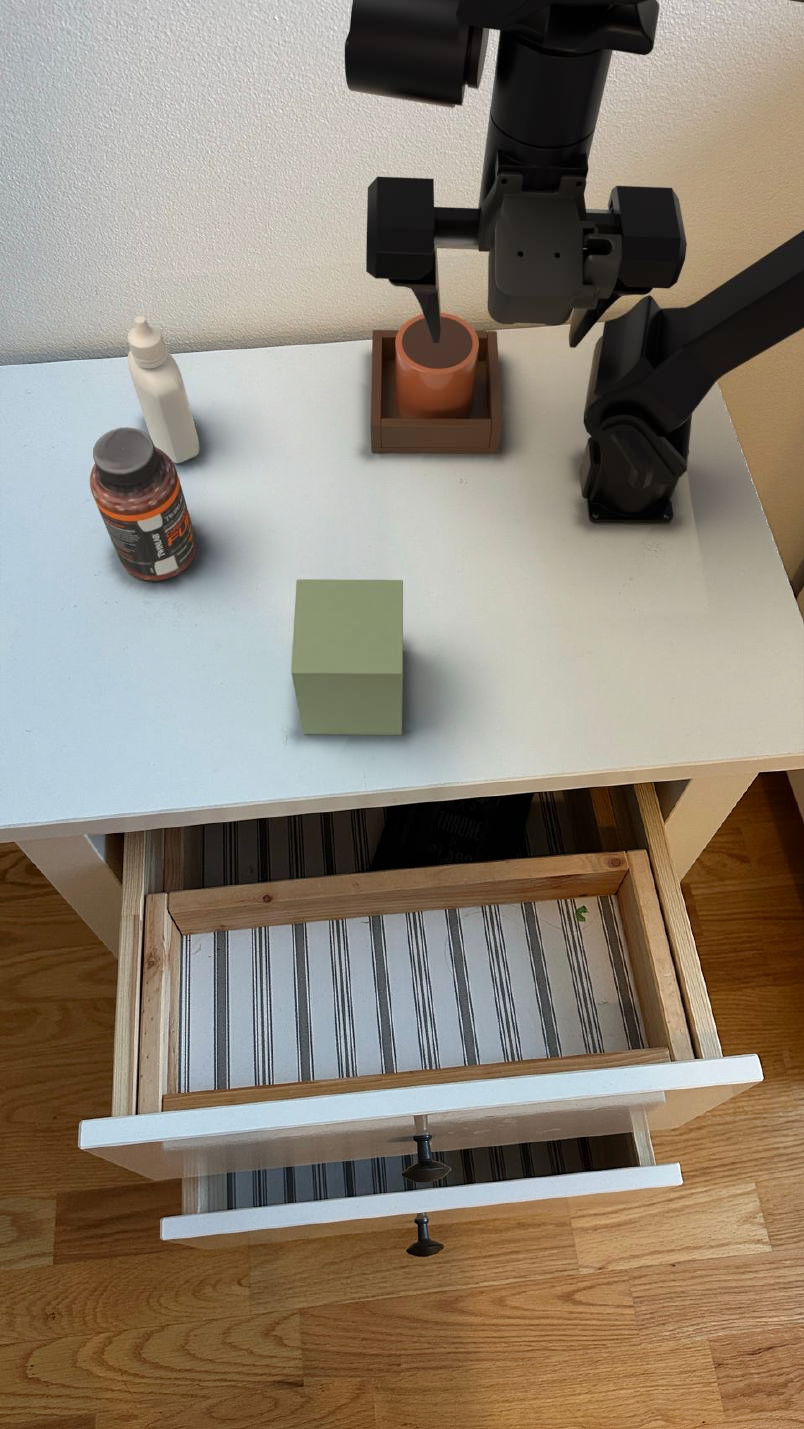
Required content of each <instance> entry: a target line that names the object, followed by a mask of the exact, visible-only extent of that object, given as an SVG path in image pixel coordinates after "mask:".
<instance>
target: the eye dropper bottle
mask: <svg viewBox="0 0 804 1429" xmlns="http://www.w3.org/2000/svg"><path fill="white" fill-rule="evenodd" d="M164 340H165V339H164V337H163V333H162V331H161V329H160V328H159V327H158V326H156V325H154V324H151V323H148V322H147V320H146V318H145V317H144V316H142V315H139V316H136V317H135V319H134V327H133V328H131V329H130V330H129V332H128V334H127V341H128V346H129V348H130V349H129V351H128V353H127V354H128V355H127V366H128V371H129V374H130V378H131V381H132V383H133V384H132V385H133V387H134V390H135V394H136V396H137V399H138V400H137V401H138V403H139V405H140V409H141V412H142V415H143V418H144V421H145V424H146V427H147V431H148V434H149V437H150V438H151V440H152V442H153V444H154V447H156V448H158V449H160V450H162V451H163V452H164V453H166V454H167V456H169V457H170V459H171V460H172V462H173V463H174V464H180V463H183V462H186V461H187V460H190V459H193V458H194V457H197V456H198V455H199V453H200V441H199V436H198V432H197V429H196V425H195V422H194V417H193V413H192V410H191V406H190V402H189V398H188V394H187V390H186V387H185V383H184V379H183V376H182V372H181V370H180V367H179V365H178V363H177V360H175V358H174V356H173V355H172V354H171V353H170V352H169V351H168V350H167V348H166V344H165V341H164Z"/></svg>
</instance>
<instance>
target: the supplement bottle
mask: <svg viewBox="0 0 804 1429" xmlns="http://www.w3.org/2000/svg"><path fill="white" fill-rule="evenodd" d="M92 448H93V449H92V458H93V461H94V465H93V466H92V468H91V471H90V474H89V487H90V493H91V494H92V497H93V499H94V501H95V504H96V507H97V509H98V511H99V513H100V516H101V518H102V521H103V523H104V525H105V528H106V531H107V534H108V535H109V537H110V540H111V542H112V545H113V548H114V550H115V552H116V554H117V557H118V559H119V561H120V563H121V565H122V567H123V568H124V569H125V570H126V571H127V572H128V573H129V574H130V575H132V576H133V577H136V578H138V579H141V580H143V581H151V582H152V581H153V582H154V581H164V580H168V579H171V578H174V577H175V576H178V575H180V574H182V573H183V571H185V570H186V569H187V568H188V567H189V566H190V565H191V563H192V562H193V560H194V558H195V555H196V553H197V548H198V547H197V546H198V545H197V537H196V533H195V528H194V525H193V522H192V518H191V515H190V512H189V509H188V505H187V502H186V499H185V494H184V491H183V487H182V484H181V480H180V477H179V474H178V471H177V469H176V466H175V463H174V462H172V460H171V459H170V457H169V456H167V454H166V453H164V452H163V451H162V450H160V449H158V448H156V446H155V445H154V443H153V441H152V439H151V437H150V435H148V434H147V433H146V432H144V431H143V430H141V429H138V428H134V427H129V426H128V427H118V428H115V429H111V430H110V431H109V430H108V431H107V432H106V433H104V434H103V435H102V436H100V437H99V438H98V439H97V440H96V442H95V443H94V446H93V447H92Z"/></svg>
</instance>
